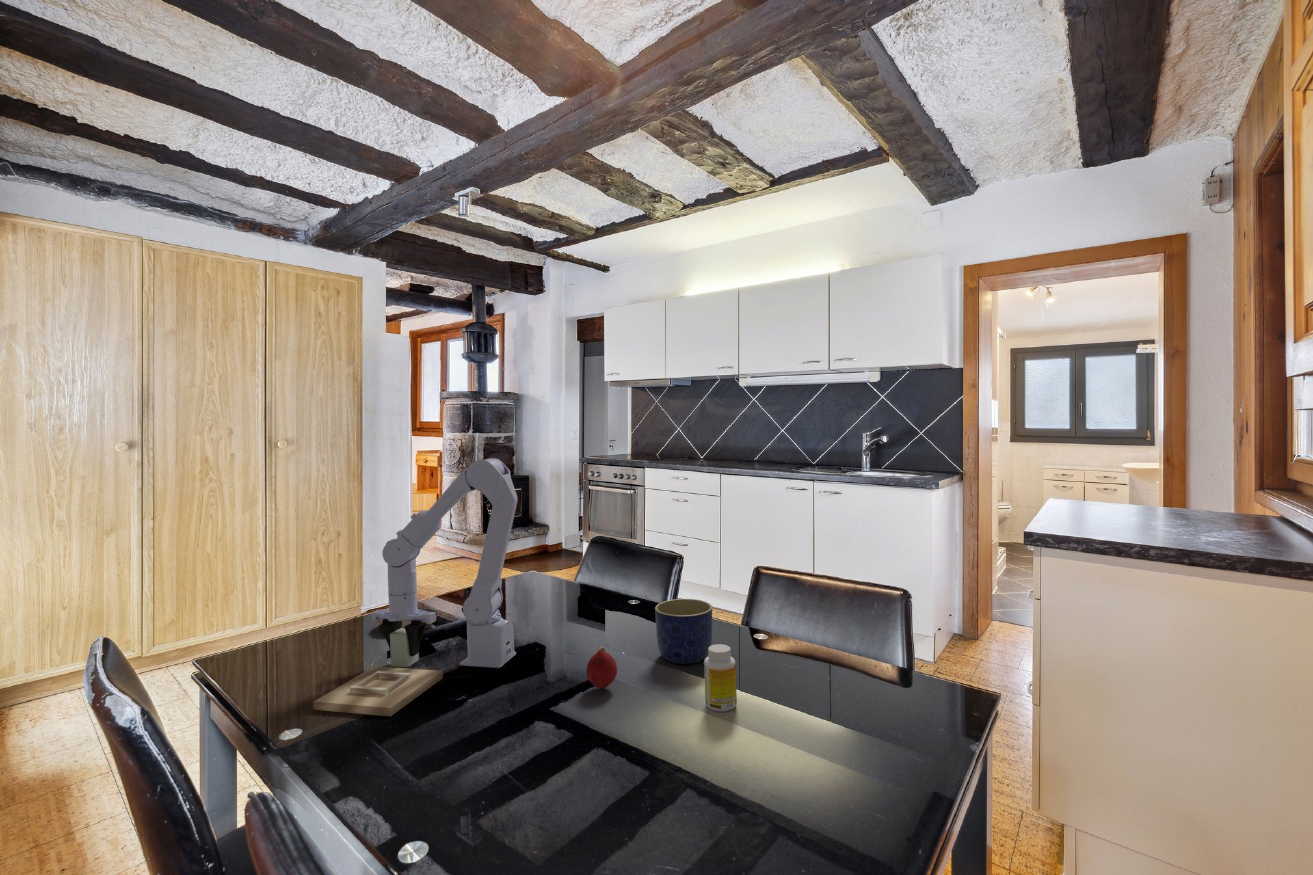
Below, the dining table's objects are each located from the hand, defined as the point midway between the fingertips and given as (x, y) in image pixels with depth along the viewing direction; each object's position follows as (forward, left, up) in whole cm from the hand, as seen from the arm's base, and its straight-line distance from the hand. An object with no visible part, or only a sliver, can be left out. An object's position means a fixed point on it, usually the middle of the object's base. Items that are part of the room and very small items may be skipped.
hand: (404, 654), depth 126 cm
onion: (-47, +6, -2) cm, 47 cm away
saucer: (+15, -22, -2) cm, 27 cm away
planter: (-60, -12, -2) cm, 61 cm away
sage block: (0, 0, -2) cm, 2 cm away
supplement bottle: (-70, +9, -2) cm, 71 cm away
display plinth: (-5, +14, -2) cm, 15 cm away
